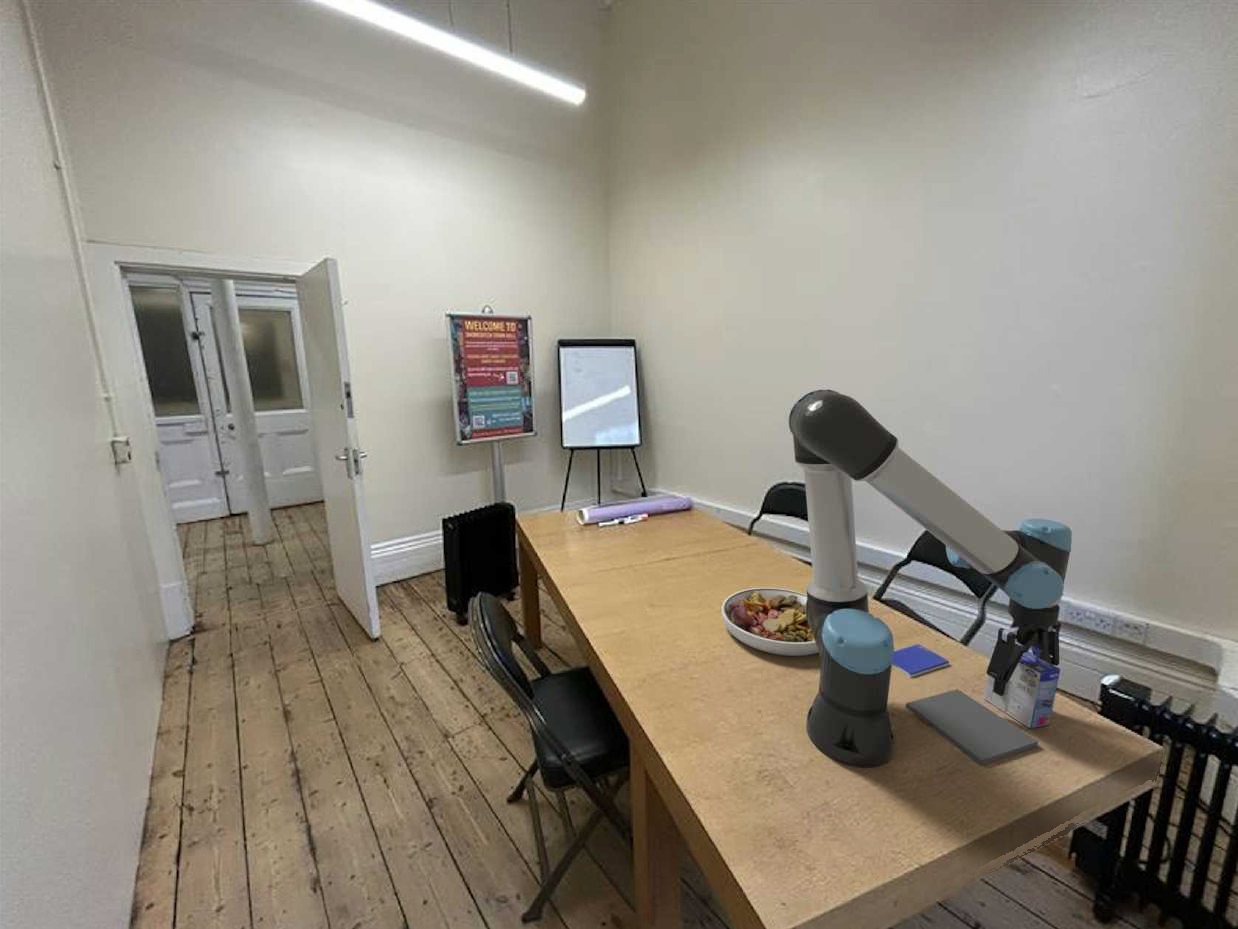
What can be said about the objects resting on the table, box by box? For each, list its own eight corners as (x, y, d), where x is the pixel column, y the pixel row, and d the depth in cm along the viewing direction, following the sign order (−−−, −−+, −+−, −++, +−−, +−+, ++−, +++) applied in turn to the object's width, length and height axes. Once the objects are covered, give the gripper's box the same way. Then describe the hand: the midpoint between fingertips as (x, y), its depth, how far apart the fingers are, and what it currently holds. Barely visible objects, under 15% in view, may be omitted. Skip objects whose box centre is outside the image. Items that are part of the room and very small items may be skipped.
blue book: (917, 643, 126) (880, 654, 122) (949, 660, 119) (910, 673, 114) (916, 649, 127) (879, 660, 122) (948, 666, 119) (910, 679, 115)
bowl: (791, 596, 154) (793, 572, 153) (867, 649, 126) (869, 620, 125) (701, 612, 145) (702, 587, 144) (761, 673, 117) (763, 642, 116)
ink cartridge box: (1052, 725, 100) (1064, 658, 97) (1031, 731, 98) (1043, 663, 95) (1002, 693, 109) (1012, 631, 106) (982, 698, 107) (991, 636, 104)
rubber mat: (980, 765, 90) (981, 760, 90) (905, 707, 105) (906, 703, 105) (1037, 746, 94) (1038, 741, 94) (957, 693, 109) (957, 689, 109)
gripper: (1013, 617, 92) (995, 727, 96) (1096, 599, 98) (1076, 702, 103) (973, 599, 99) (959, 702, 103) (1053, 583, 105) (1036, 680, 110)
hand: (1017, 702), depth 103 cm, fingers open, 9 cm apart
